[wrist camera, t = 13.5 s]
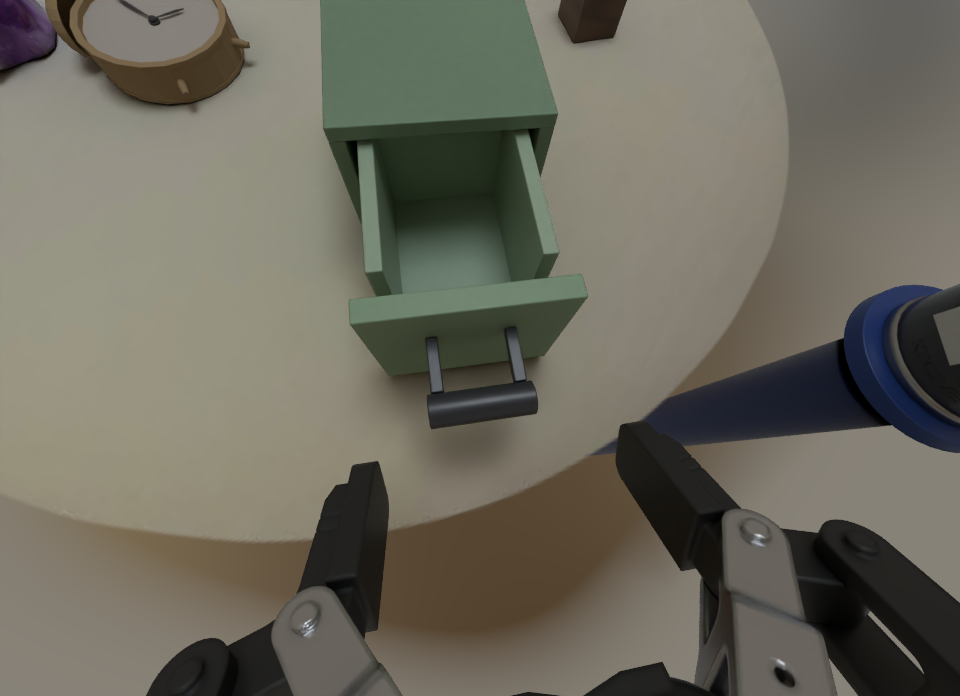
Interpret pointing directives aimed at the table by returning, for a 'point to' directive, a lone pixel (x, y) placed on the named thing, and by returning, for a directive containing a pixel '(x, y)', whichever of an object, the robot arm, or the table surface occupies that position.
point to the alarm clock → (154, 44)
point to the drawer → (460, 266)
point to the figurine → (23, 32)
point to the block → (591, 18)
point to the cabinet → (429, 74)
